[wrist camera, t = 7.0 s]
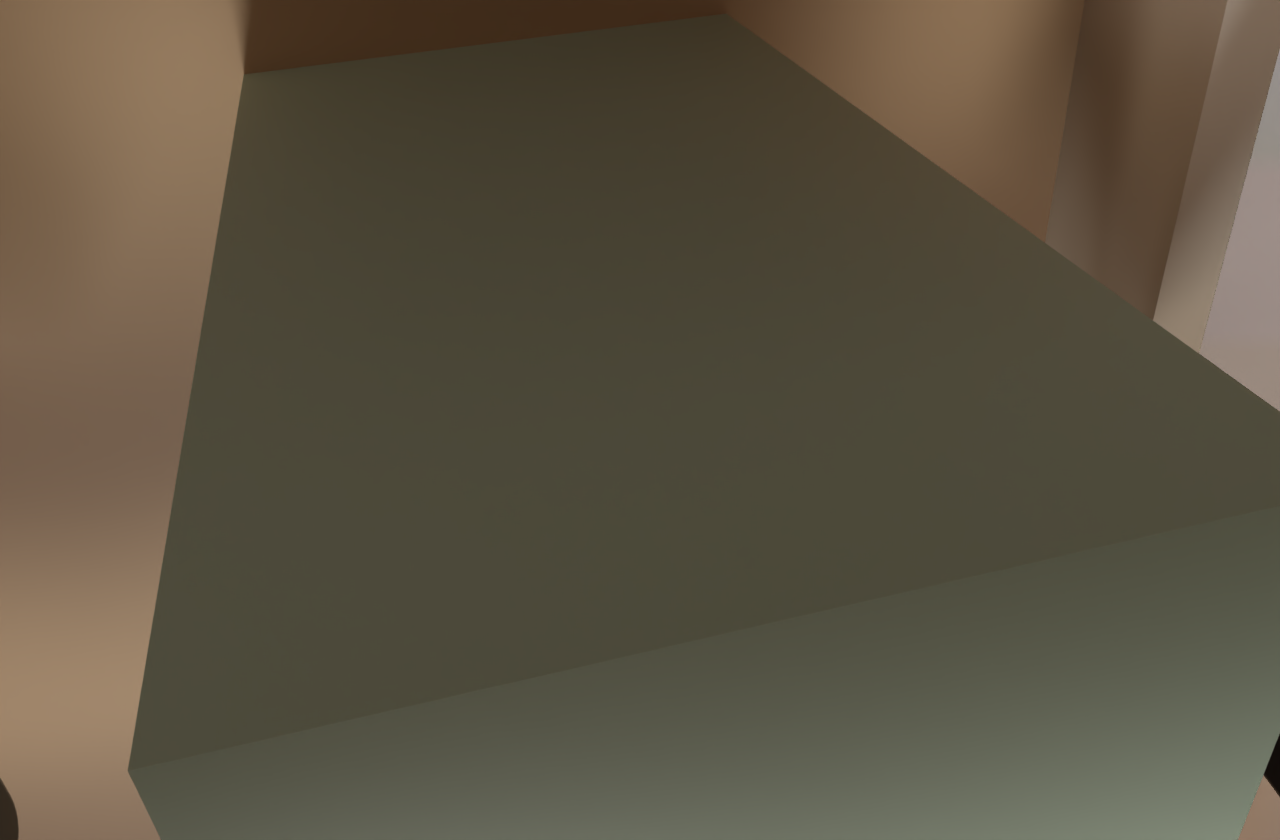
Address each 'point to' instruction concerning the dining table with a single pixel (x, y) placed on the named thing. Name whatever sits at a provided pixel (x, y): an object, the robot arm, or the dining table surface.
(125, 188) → the wooden tray
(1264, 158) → the dining table surface
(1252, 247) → the dining table surface
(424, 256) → the tea box
